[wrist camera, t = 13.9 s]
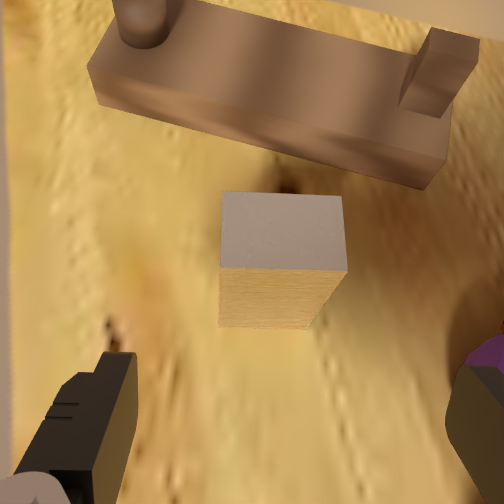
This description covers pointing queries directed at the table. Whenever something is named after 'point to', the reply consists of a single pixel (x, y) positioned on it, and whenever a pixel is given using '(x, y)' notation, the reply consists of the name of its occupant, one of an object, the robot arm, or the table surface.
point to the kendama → (489, 353)
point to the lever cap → (279, 258)
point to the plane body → (285, 85)
